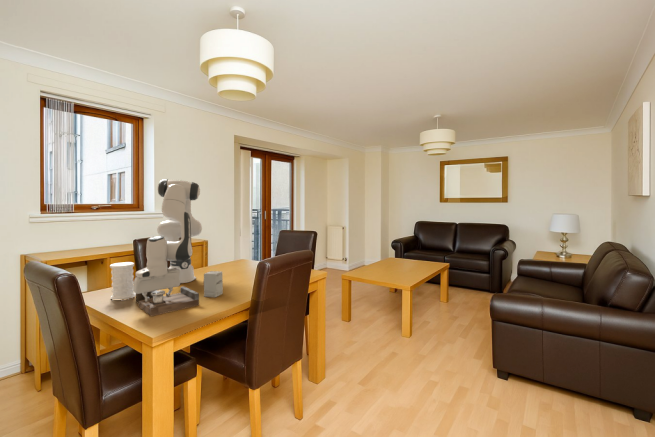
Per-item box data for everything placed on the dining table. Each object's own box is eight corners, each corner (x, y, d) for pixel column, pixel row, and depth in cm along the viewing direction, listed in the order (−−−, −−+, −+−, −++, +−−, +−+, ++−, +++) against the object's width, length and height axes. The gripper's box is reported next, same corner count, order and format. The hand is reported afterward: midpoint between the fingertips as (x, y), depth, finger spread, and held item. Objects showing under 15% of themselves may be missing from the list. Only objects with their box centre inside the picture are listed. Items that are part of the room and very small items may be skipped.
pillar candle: (145, 304, 166) (145, 274, 165) (131, 302, 169) (130, 273, 168) (161, 299, 175) (161, 271, 174) (147, 297, 178) (147, 269, 177)
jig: (138, 306, 162) (138, 294, 162) (184, 297, 178) (184, 286, 177) (151, 316, 149) (150, 303, 149) (199, 305, 165) (198, 293, 165)
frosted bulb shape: (149, 308, 160) (149, 292, 160) (162, 305, 164) (162, 289, 164) (154, 311, 156) (153, 294, 155) (167, 308, 160) (166, 292, 160)
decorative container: (136, 298, 176) (135, 264, 175) (110, 302, 170) (109, 267, 169) (135, 293, 186) (134, 261, 185) (110, 296, 179) (109, 263, 178)
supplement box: (216, 297, 178) (215, 274, 177) (203, 296, 179) (203, 273, 178) (223, 293, 185) (222, 271, 184) (211, 293, 186) (210, 270, 186)
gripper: (177, 266, 168) (177, 293, 169) (131, 272, 154) (132, 302, 155) (182, 268, 164) (182, 295, 165) (135, 275, 150) (136, 305, 150)
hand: (158, 299), depth 160 cm, fingers open, 8 cm apart
